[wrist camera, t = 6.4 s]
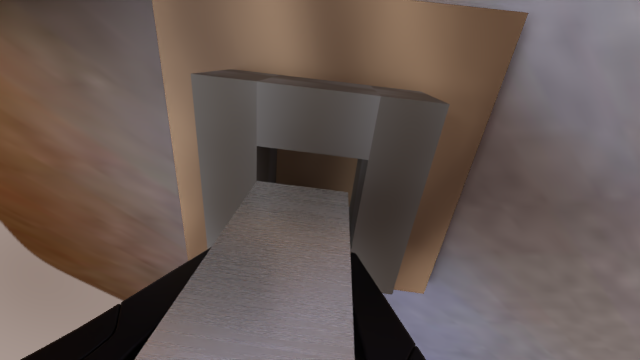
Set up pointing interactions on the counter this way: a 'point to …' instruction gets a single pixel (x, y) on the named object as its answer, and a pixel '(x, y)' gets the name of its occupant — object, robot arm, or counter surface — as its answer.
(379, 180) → the stand
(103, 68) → the counter surface
